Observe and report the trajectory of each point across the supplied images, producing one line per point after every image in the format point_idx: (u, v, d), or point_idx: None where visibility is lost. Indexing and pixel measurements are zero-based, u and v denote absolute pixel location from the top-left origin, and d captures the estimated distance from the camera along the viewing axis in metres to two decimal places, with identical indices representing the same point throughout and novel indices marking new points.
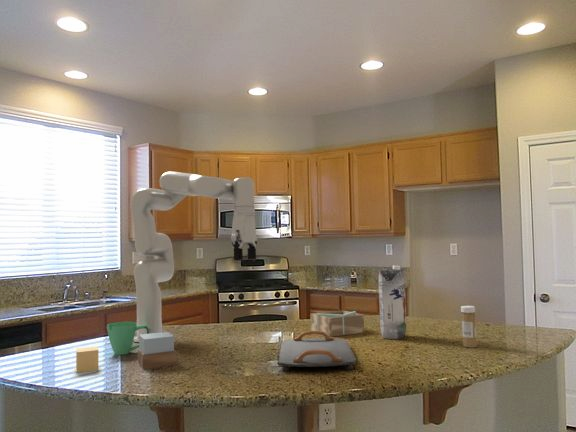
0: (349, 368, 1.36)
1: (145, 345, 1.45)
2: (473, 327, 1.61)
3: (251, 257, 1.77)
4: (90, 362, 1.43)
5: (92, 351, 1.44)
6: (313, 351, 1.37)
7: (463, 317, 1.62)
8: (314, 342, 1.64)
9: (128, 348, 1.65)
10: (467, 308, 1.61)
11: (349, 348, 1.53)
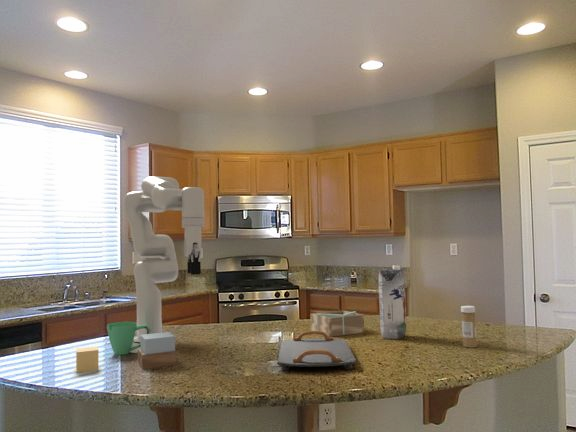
0: (348, 368, 1.36)
1: (146, 345, 1.45)
2: (473, 327, 1.61)
3: None
4: (90, 362, 1.43)
5: (92, 351, 1.44)
6: (313, 351, 1.37)
7: (463, 317, 1.62)
8: (314, 342, 1.64)
9: (128, 348, 1.65)
10: (467, 308, 1.61)
11: (349, 348, 1.53)
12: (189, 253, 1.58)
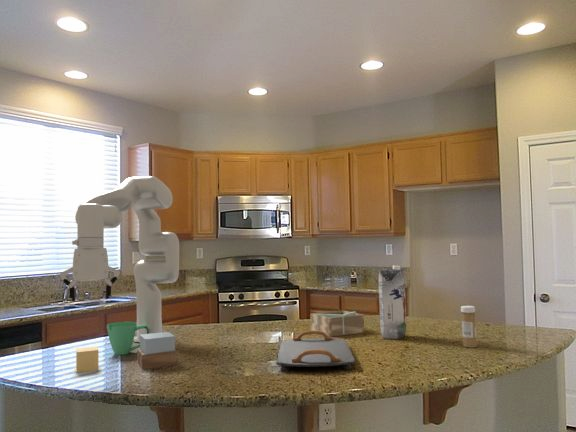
0: (348, 368, 1.36)
1: (146, 345, 1.45)
2: (473, 327, 1.61)
3: None
4: (90, 362, 1.43)
5: (92, 351, 1.44)
6: (312, 351, 1.37)
7: (463, 317, 1.62)
8: (313, 342, 1.64)
9: (128, 348, 1.65)
10: (467, 308, 1.61)
11: (348, 348, 1.53)
12: None
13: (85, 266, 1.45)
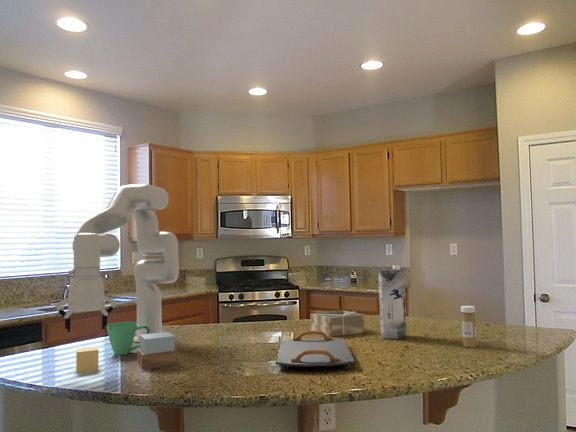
0: (347, 368, 1.36)
1: (146, 345, 1.45)
2: (473, 327, 1.61)
3: None
4: (90, 362, 1.43)
5: (92, 351, 1.44)
6: (311, 351, 1.37)
7: (463, 317, 1.62)
8: (313, 342, 1.64)
9: (128, 348, 1.65)
10: (467, 308, 1.61)
11: (347, 348, 1.53)
12: None
13: (81, 297, 1.44)
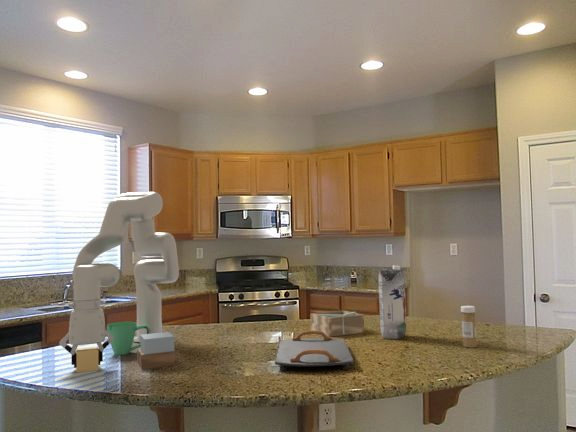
0: (346, 368, 1.36)
1: (145, 345, 1.45)
2: (473, 327, 1.61)
3: None
4: (90, 362, 1.43)
5: (92, 351, 1.44)
6: (310, 351, 1.37)
7: (463, 317, 1.62)
8: (312, 342, 1.64)
9: (128, 348, 1.65)
10: (467, 308, 1.61)
11: (347, 348, 1.53)
12: None
13: (81, 330, 1.43)
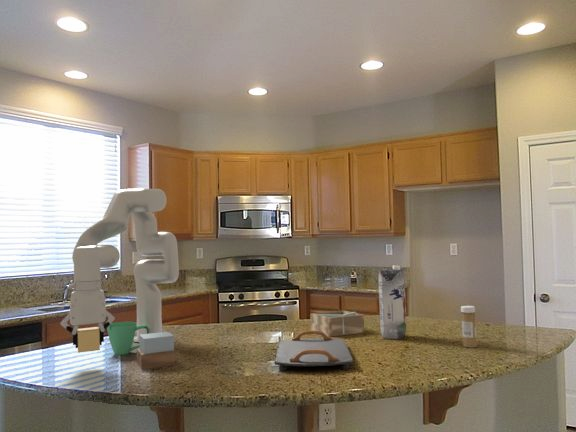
0: (345, 368, 1.36)
1: (145, 345, 1.45)
2: (473, 327, 1.61)
3: None
4: (91, 342, 1.44)
5: (93, 331, 1.45)
6: (310, 351, 1.37)
7: (463, 317, 1.62)
8: (312, 342, 1.64)
9: (128, 348, 1.65)
10: (467, 308, 1.61)
11: (346, 348, 1.53)
12: (105, 319, 1.47)
13: (82, 310, 1.44)
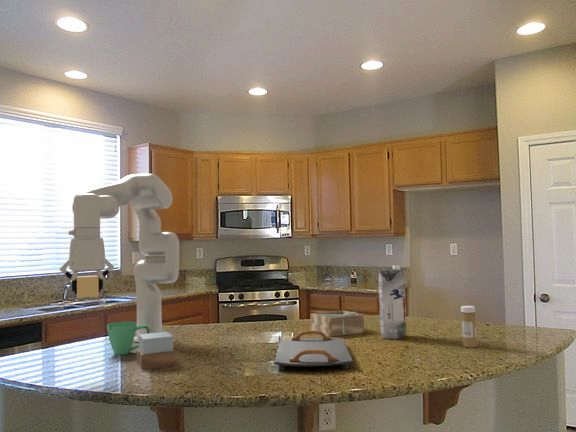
0: (345, 368, 1.36)
1: (144, 345, 1.45)
2: (473, 327, 1.61)
3: None
4: (90, 288, 1.45)
5: (92, 277, 1.45)
6: (309, 351, 1.37)
7: (463, 317, 1.62)
8: (312, 342, 1.64)
9: (128, 348, 1.65)
10: (467, 308, 1.61)
11: (346, 348, 1.54)
12: None
13: (82, 256, 1.45)
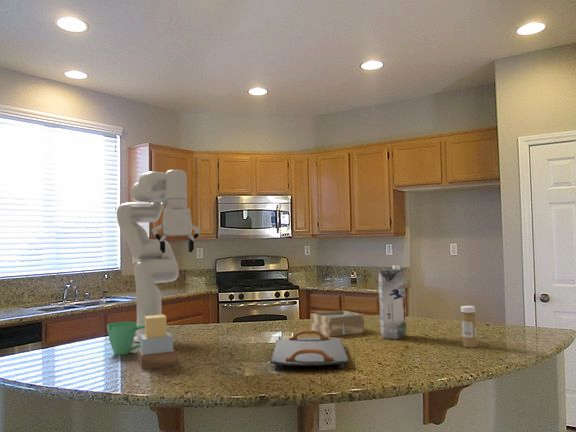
0: (341, 367, 1.37)
1: (144, 345, 1.45)
2: (473, 327, 1.61)
3: None
4: (159, 329, 1.48)
5: (160, 318, 1.48)
6: (305, 350, 1.38)
7: (463, 317, 1.62)
8: (309, 341, 1.65)
9: (128, 348, 1.65)
10: (467, 308, 1.61)
11: (342, 347, 1.54)
12: (191, 232, 1.72)
13: (173, 223, 1.69)
